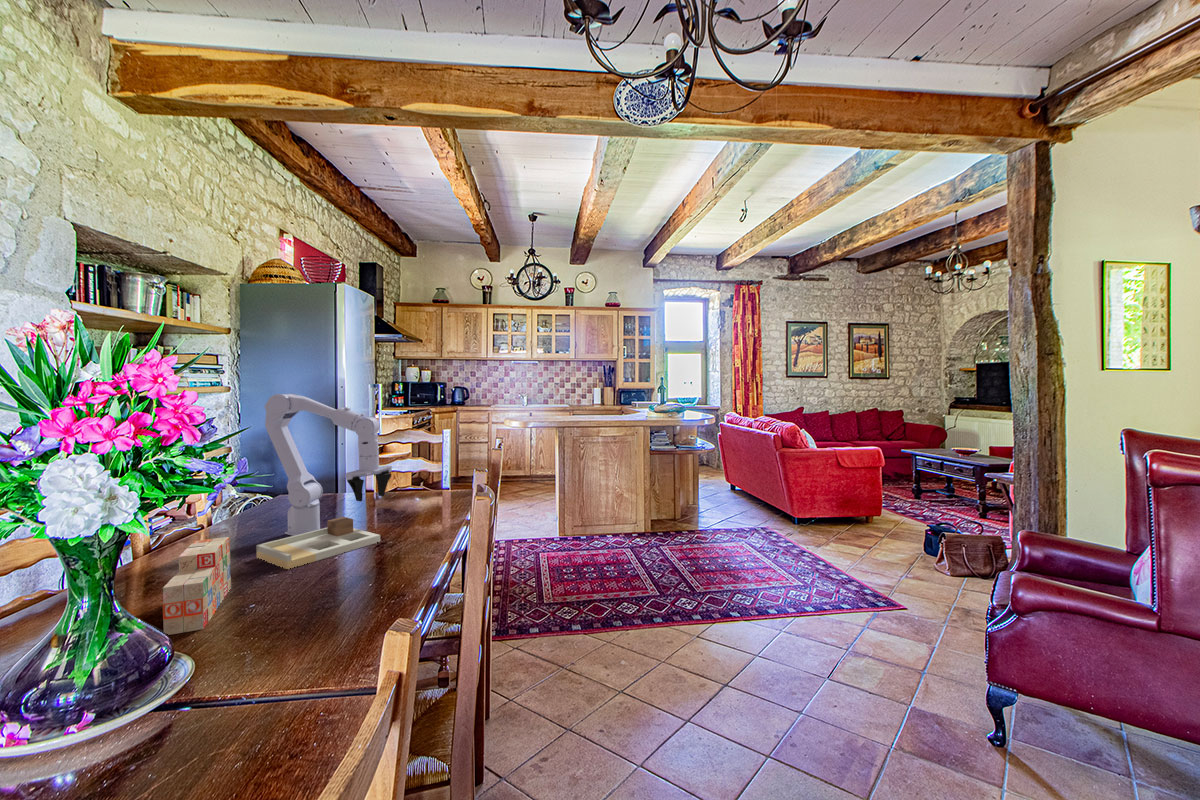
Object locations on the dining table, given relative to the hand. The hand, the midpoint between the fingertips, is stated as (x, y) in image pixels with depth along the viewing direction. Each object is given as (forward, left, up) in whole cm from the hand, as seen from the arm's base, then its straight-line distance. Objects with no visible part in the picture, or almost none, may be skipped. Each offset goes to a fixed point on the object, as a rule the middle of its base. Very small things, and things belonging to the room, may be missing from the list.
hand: (370, 498), depth 159 cm
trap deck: (+4, -18, -11) cm, 21 cm away
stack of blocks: (+20, -52, -11) cm, 57 cm away
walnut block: (0, -10, -9) cm, 13 cm away
